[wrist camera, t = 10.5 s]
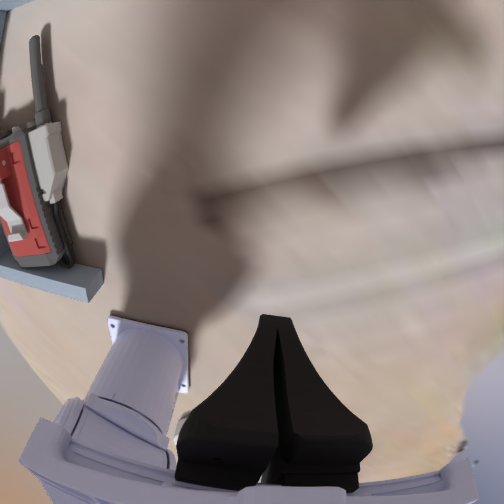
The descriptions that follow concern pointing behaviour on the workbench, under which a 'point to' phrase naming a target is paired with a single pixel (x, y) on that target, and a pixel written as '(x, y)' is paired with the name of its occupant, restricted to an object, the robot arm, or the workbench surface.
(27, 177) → the walkie-talkie
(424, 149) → the workbench surface
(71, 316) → the workbench surface
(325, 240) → the workbench surface
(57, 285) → the centring jig
